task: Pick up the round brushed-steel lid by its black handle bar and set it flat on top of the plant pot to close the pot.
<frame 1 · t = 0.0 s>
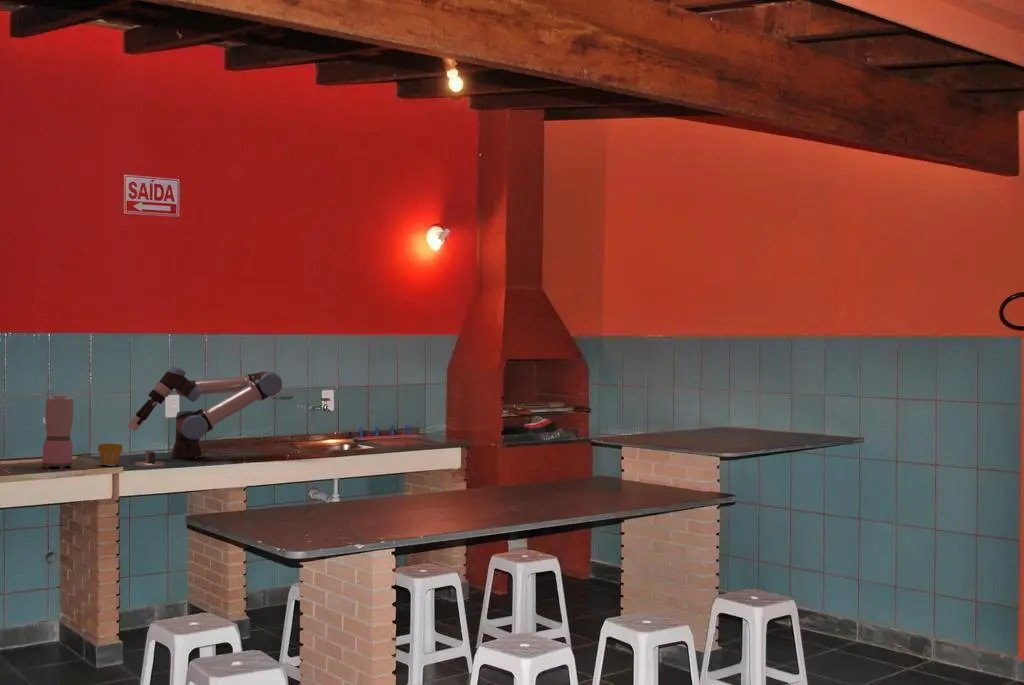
hand: (130, 428, 517), 15 cm above the worktop, tool tilted 35°, fingers open, 13 cm apart
blender: (58, 467, 482), on the worktop
plant pot: (109, 466, 494), on the worktop
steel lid: (150, 465, 504), on the worktop
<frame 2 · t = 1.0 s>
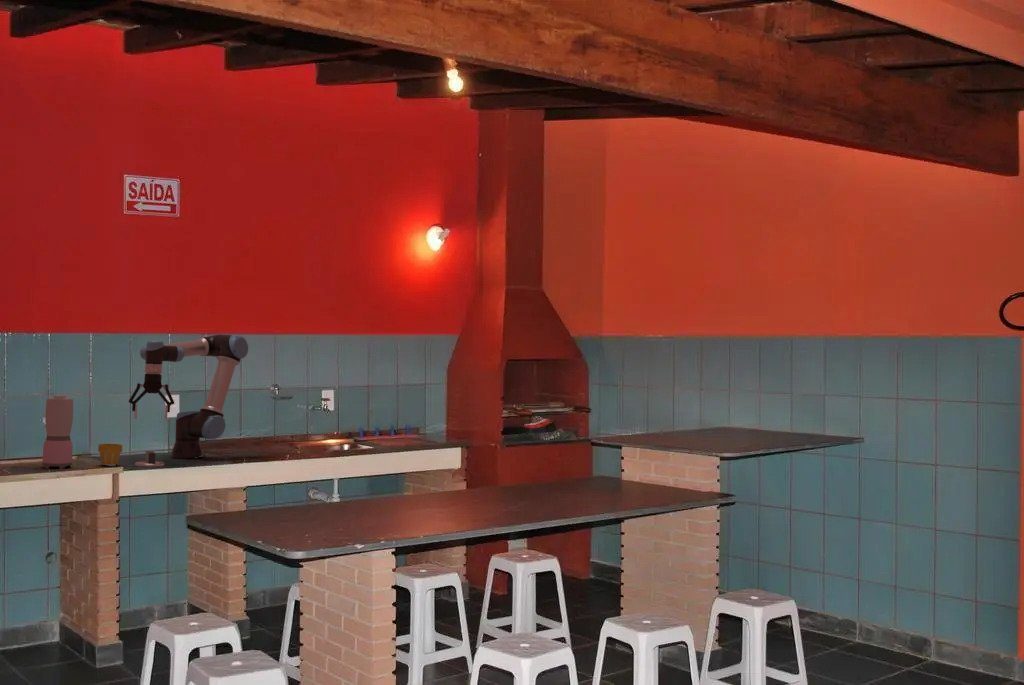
hand: (150, 419, 504), 21 cm above the worktop, tool pointing down, fingers open, 13 cm apart
nothing on the worktop moved.
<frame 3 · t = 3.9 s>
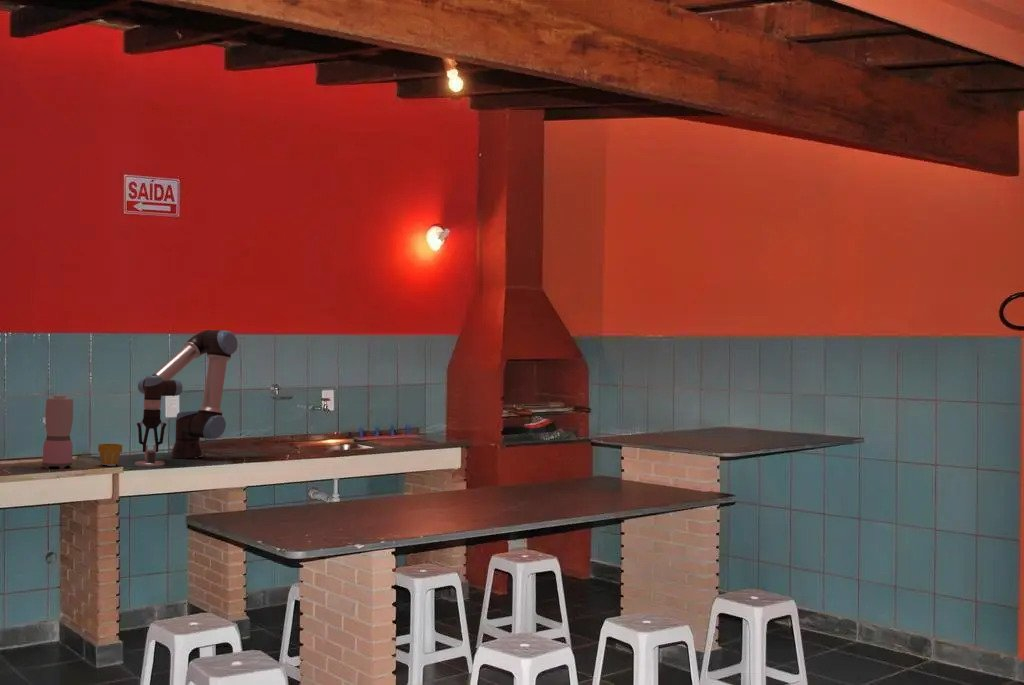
hand: (150, 459, 504), 3 cm above the worktop, tool pointing down, fingers closed on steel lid, 3 cm apart
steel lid: (149, 464, 504), on the worktop, touching gripper
everything else where it was.
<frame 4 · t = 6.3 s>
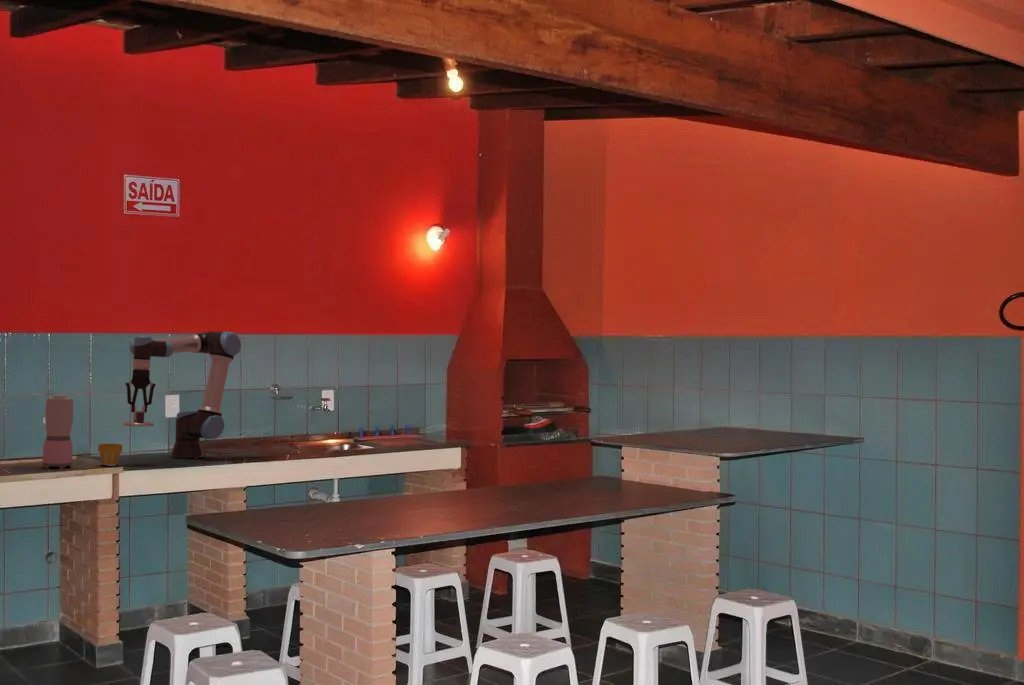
hand: (138, 419, 501), 21 cm above the worktop, tool pointing down, fingers closed on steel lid, 3 cm apart
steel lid: (138, 425, 500), point 18 cm above the worktop, touching gripper
everything else where it was.
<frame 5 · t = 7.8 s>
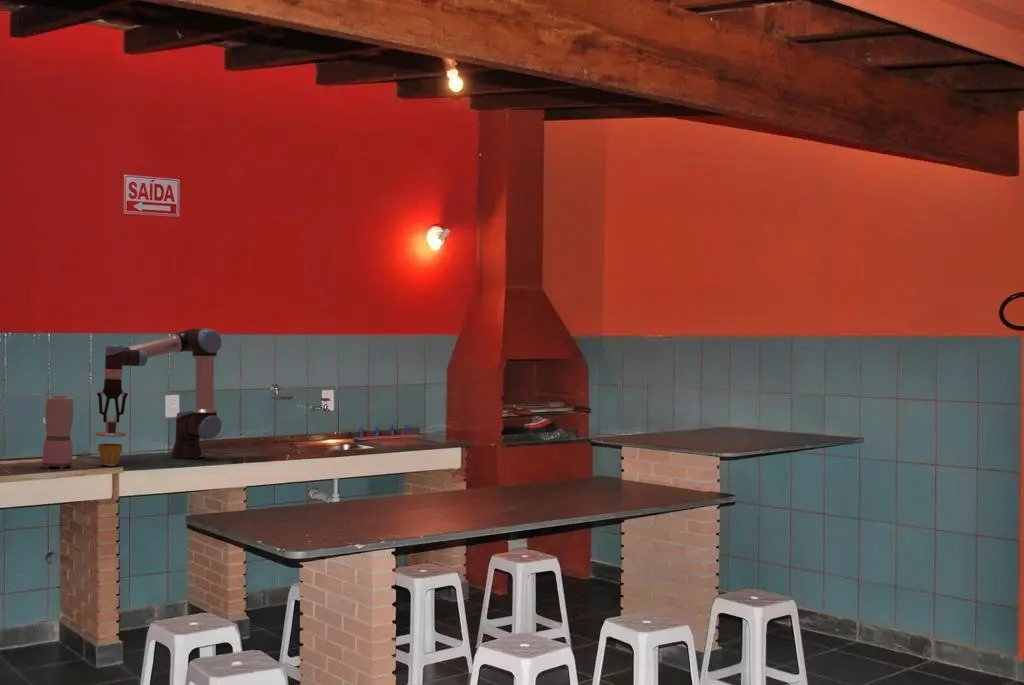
hand: (110, 429, 494), 16 cm above the worktop, tool pointing down, fingers closed on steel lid, 3 cm apart
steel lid: (110, 435, 494), point 14 cm above the worktop, touching gripper
everything else where it was.
when the fingers open (14 cm above the worktop, at t = 9.1 s): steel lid drops 2 cm, resting on plant pot.
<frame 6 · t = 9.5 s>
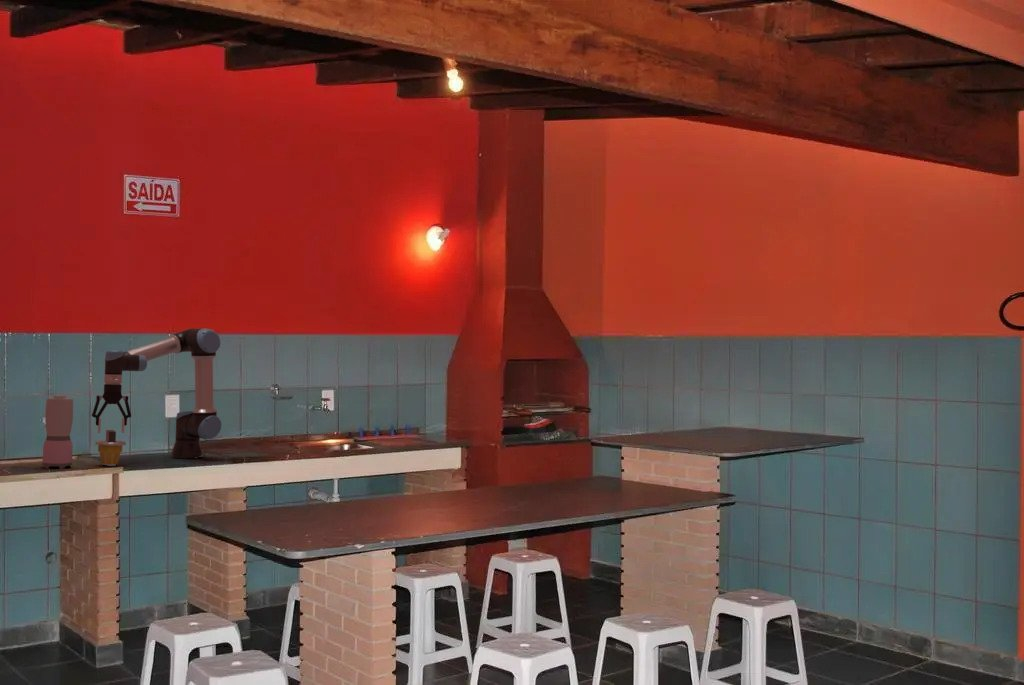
hand: (110, 432, 494), 15 cm above the worktop, tool pointing down, fingers open, 9 cm apart
plant pot: (109, 466, 494), on the worktop, touching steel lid
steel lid: (110, 444, 494), point 10 cm above the worktop, touching plant pot
everything else where it was.
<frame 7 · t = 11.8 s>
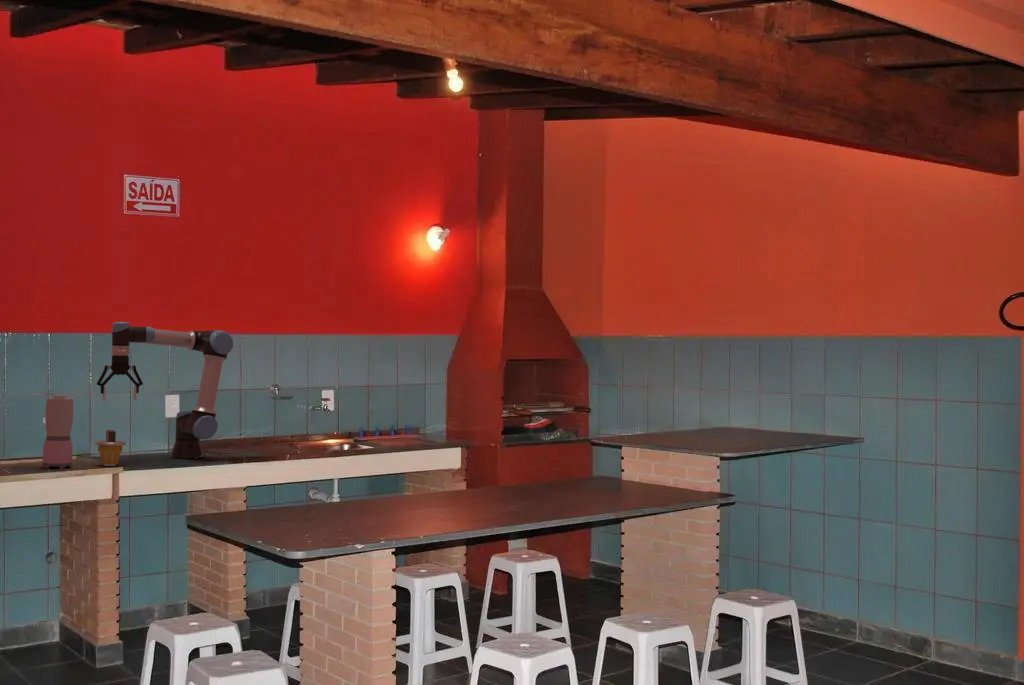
hand: (119, 400, 504), 29 cm above the worktop, tool pointing down, fingers open, 13 cm apart
nothing on the worktop moved.
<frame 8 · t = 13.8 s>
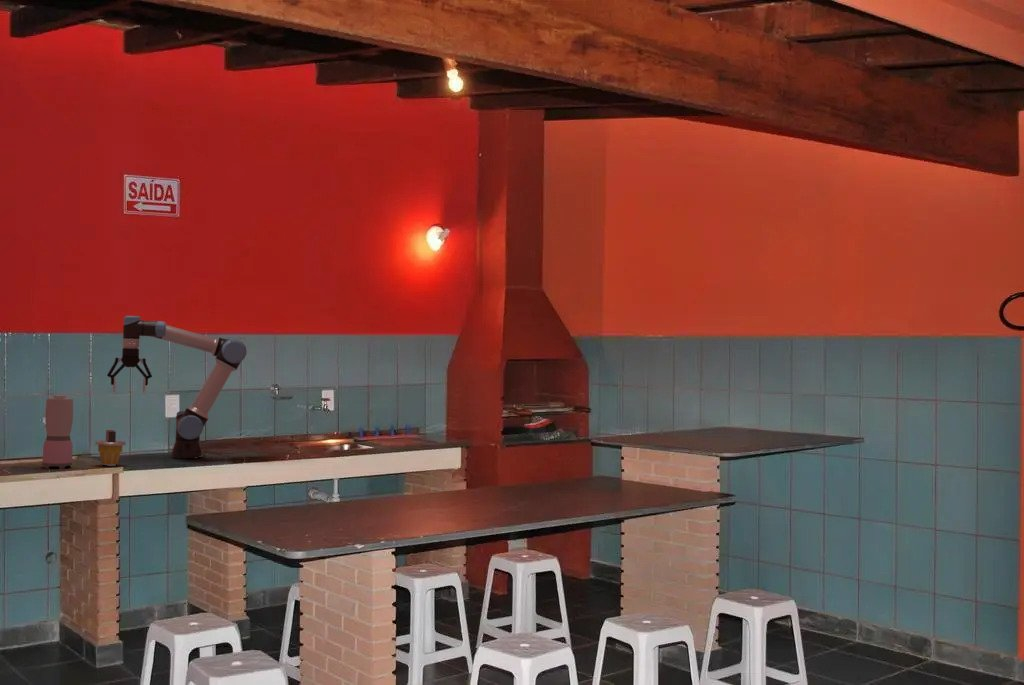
hand: (129, 392, 519), 33 cm above the worktop, tool pointing down, fingers open, 13 cm apart
nothing on the worktop moved.
at the end: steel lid 0.0 cm from the plant pot (horizontally); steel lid point 9.7 cm above the worktop; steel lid tilted 0° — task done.
